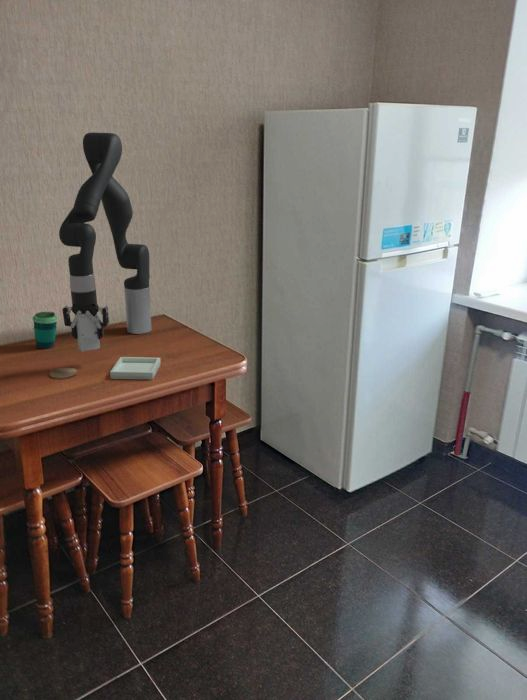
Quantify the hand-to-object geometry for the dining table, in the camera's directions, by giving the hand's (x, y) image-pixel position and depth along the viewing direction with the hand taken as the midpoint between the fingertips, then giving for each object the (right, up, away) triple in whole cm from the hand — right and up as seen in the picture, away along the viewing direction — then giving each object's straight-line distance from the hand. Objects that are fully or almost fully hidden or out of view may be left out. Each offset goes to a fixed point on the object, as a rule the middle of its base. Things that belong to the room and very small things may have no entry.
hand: (88, 338), depth 182 cm
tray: (+16, -10, -1) cm, 19 cm away
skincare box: (0, -3, +1) cm, 4 cm away
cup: (-20, -3, +19) cm, 28 cm away
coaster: (-6, -11, -5) cm, 14 cm away
